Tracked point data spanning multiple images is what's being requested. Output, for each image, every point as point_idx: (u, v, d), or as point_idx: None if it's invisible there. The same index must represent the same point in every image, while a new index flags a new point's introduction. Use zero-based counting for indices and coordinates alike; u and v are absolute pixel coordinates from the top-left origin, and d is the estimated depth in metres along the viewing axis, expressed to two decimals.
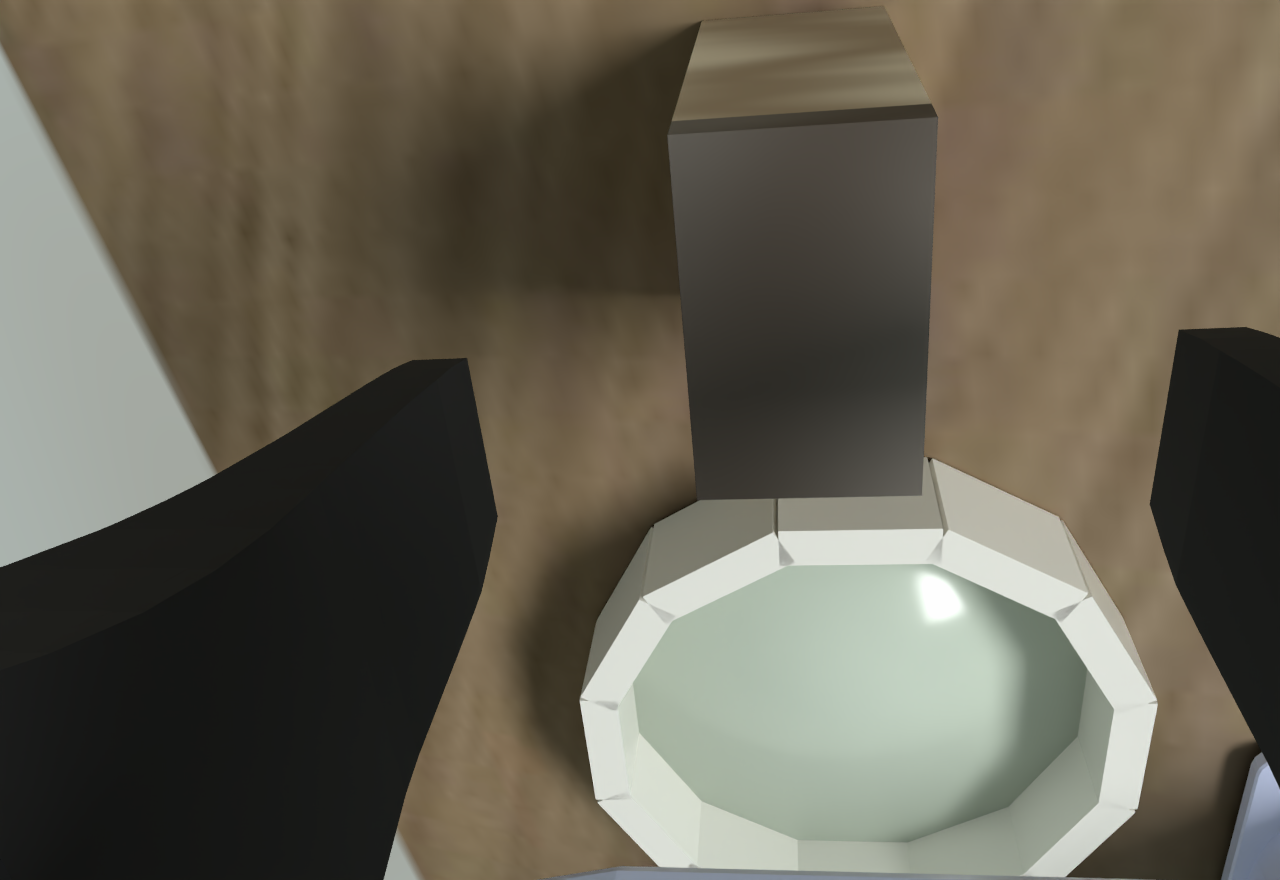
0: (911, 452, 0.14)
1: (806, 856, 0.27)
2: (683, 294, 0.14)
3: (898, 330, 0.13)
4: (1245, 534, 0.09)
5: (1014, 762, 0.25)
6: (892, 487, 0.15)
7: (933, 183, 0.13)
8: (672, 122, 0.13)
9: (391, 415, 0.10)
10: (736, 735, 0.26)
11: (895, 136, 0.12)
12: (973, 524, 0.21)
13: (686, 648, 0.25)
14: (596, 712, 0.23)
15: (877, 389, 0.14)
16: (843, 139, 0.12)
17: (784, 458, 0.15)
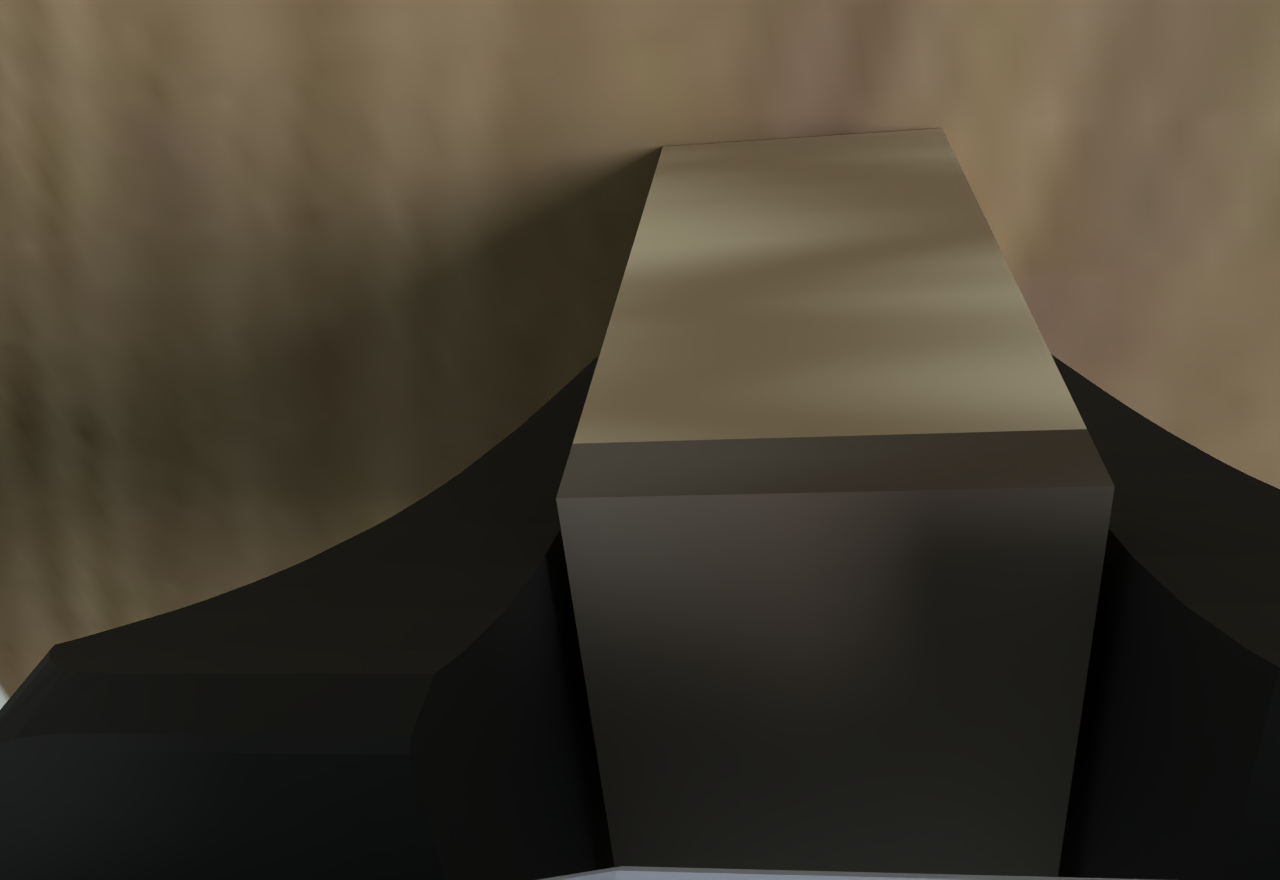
0: None
1: None
2: (601, 751, 0.07)
3: (1007, 819, 0.07)
4: None
5: None
6: None
7: (1092, 590, 0.06)
8: (573, 448, 0.07)
9: None
10: None
11: (1021, 515, 0.06)
12: None
13: None
14: None
15: None
16: (912, 518, 0.06)
17: None
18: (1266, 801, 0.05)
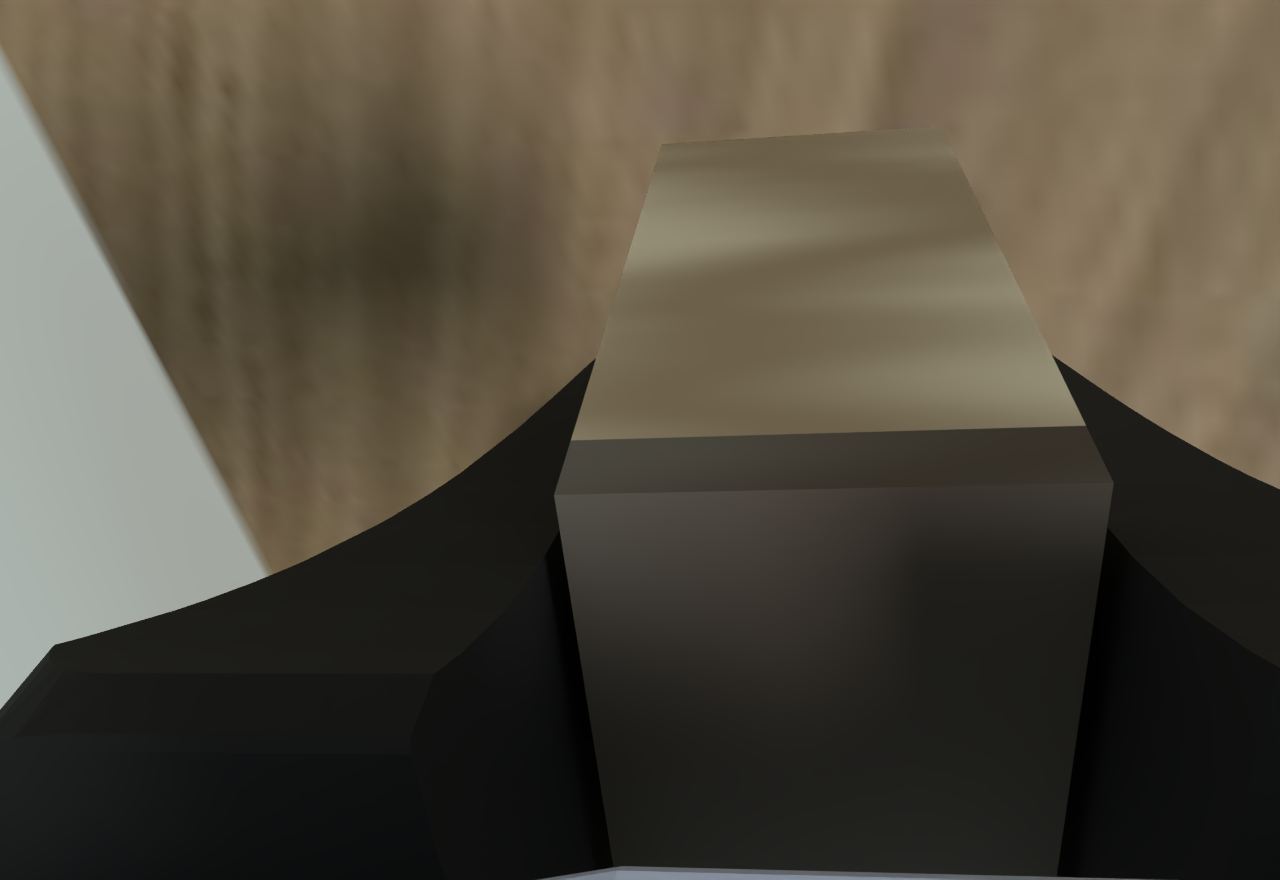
0: None
1: None
2: (599, 748, 0.07)
3: (1005, 816, 0.07)
4: None
5: None
6: None
7: (1091, 585, 0.06)
8: (571, 444, 0.07)
9: None
10: None
11: (1020, 512, 0.06)
12: None
13: None
14: None
15: None
16: (911, 515, 0.06)
17: None
18: (1264, 804, 0.05)
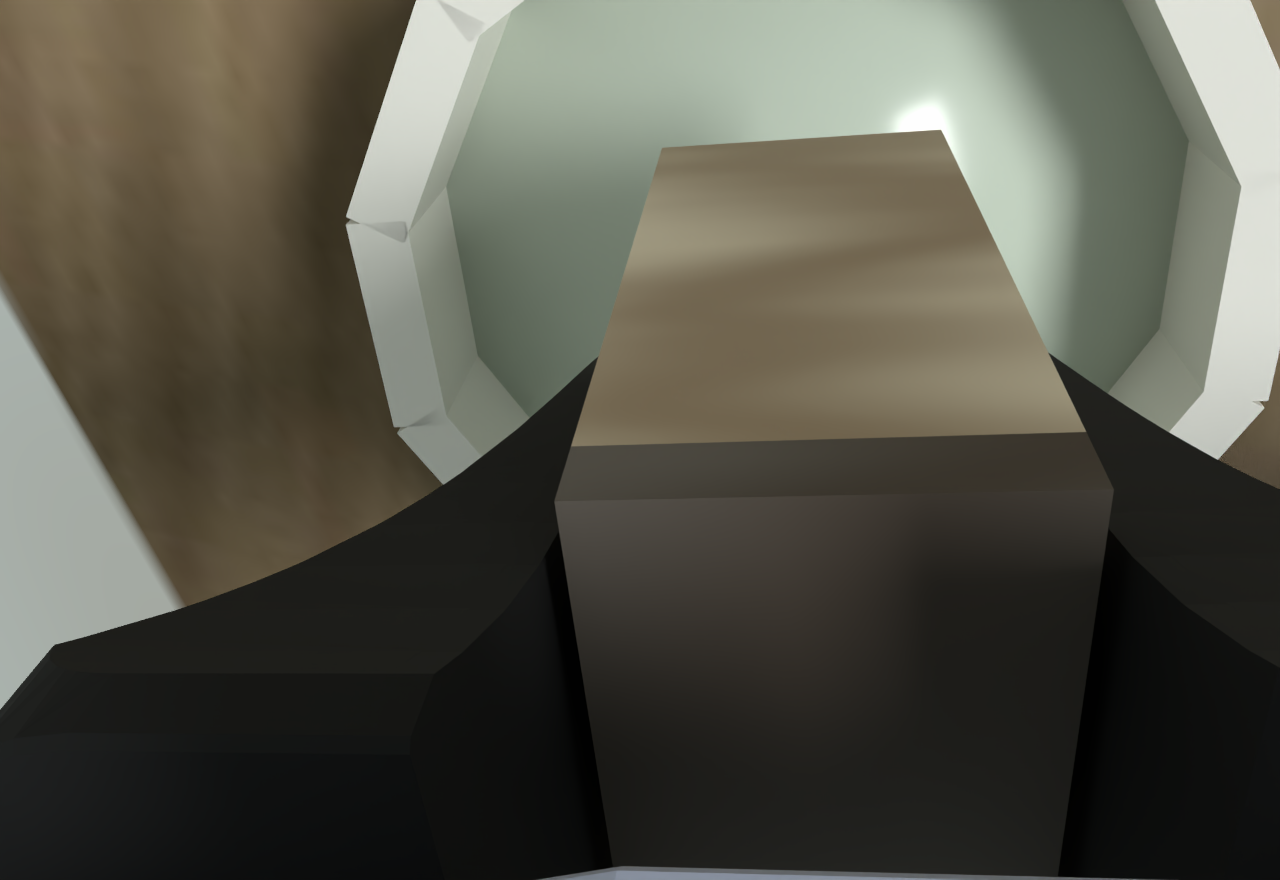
0: None
1: None
2: (599, 754, 0.07)
3: (1006, 822, 0.07)
4: None
5: None
6: None
7: (1090, 592, 0.06)
8: (572, 450, 0.07)
9: None
10: None
11: (1021, 519, 0.06)
12: None
13: (537, 185, 0.16)
14: (375, 248, 0.14)
15: None
16: (912, 520, 0.06)
17: None
18: (1264, 799, 0.05)
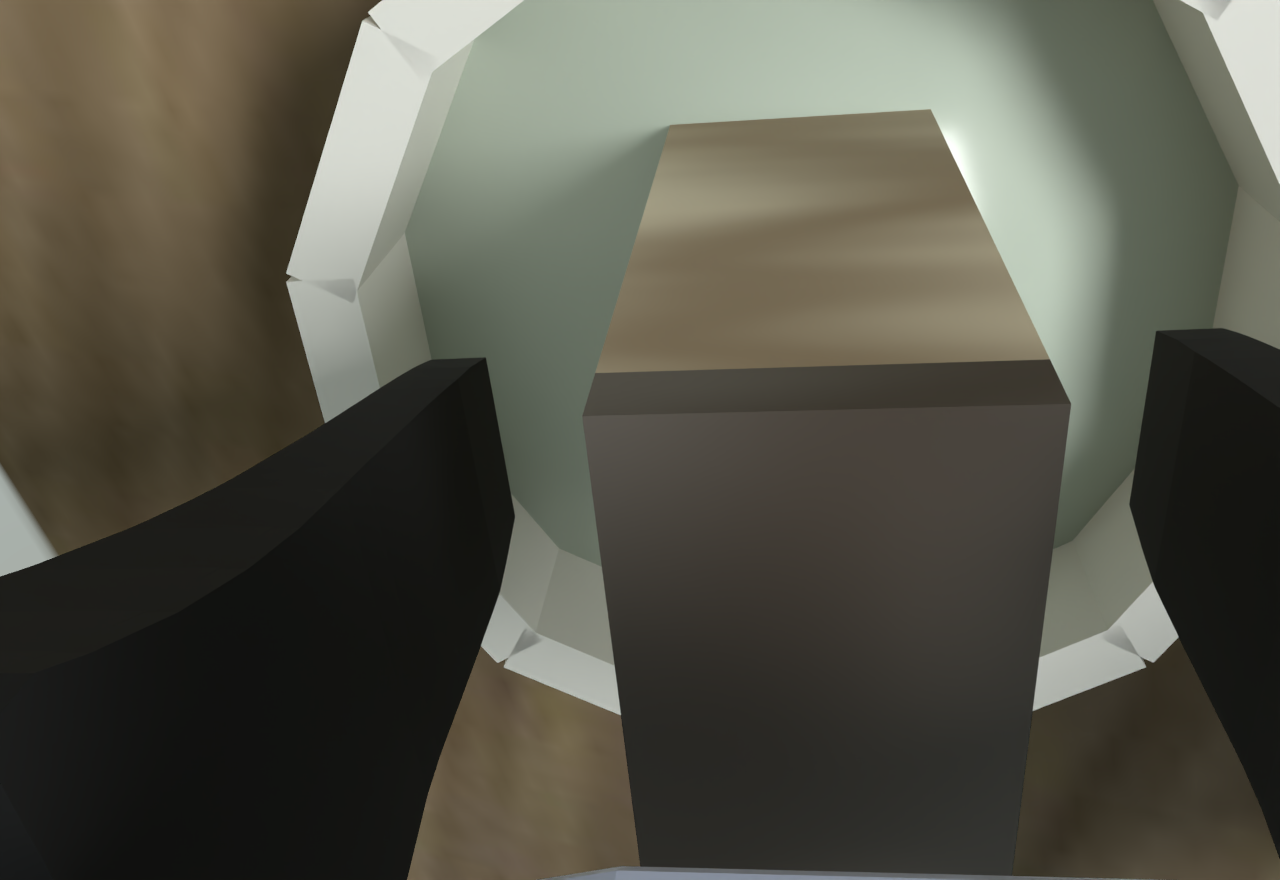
0: None
1: None
2: (617, 651, 0.08)
3: (979, 714, 0.08)
4: (1220, 535, 0.09)
5: (1087, 449, 0.15)
6: None
7: (1053, 500, 0.07)
8: (596, 376, 0.08)
9: (413, 414, 0.10)
10: None
11: (991, 431, 0.07)
12: None
13: (506, 231, 0.14)
14: (320, 308, 0.13)
15: (940, 792, 0.08)
16: (896, 433, 0.07)
17: None
18: None
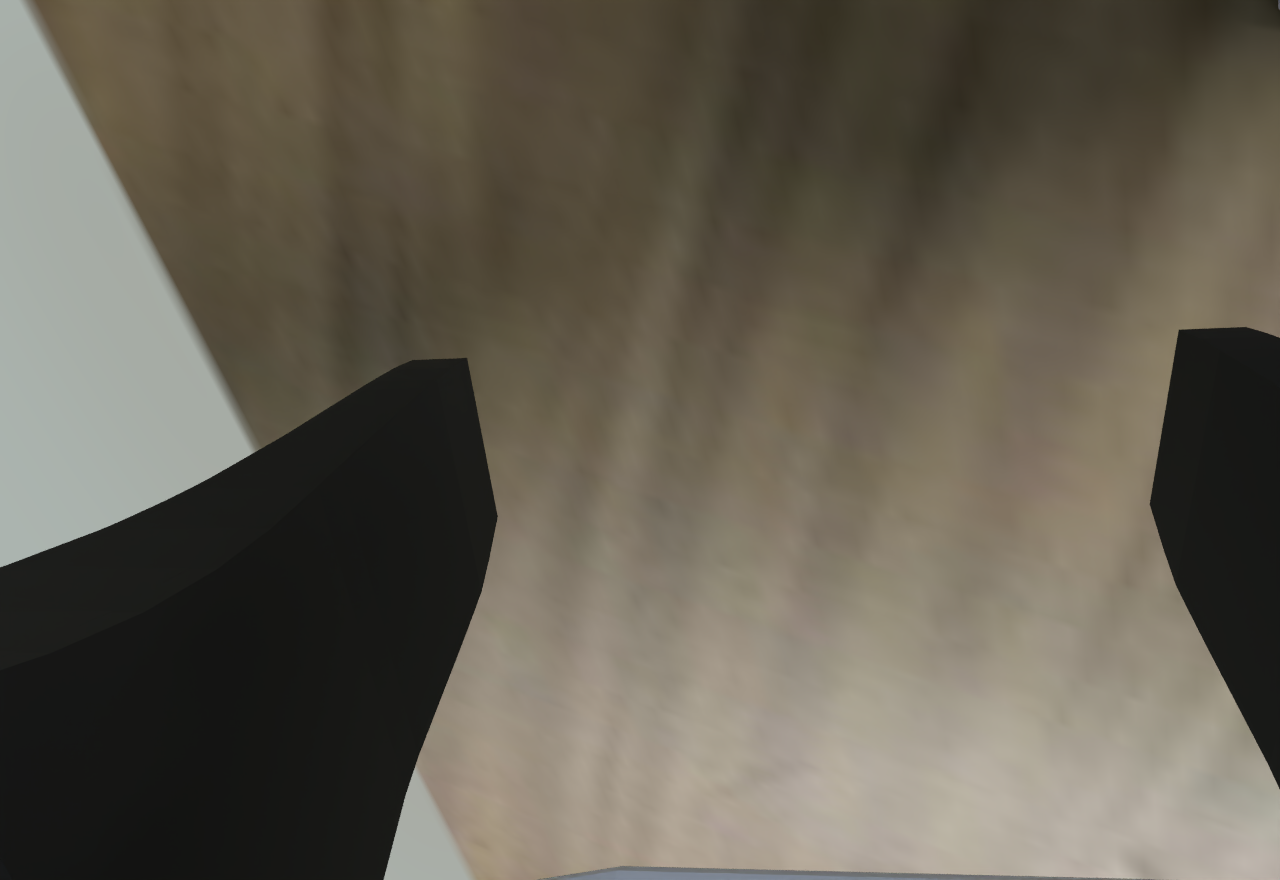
0: None
1: None
2: None
3: None
4: (1245, 535, 0.09)
5: None
6: None
7: None
8: None
9: (391, 415, 0.10)
10: None
11: None
12: None
13: None
14: None
15: None
16: None
17: None
18: None
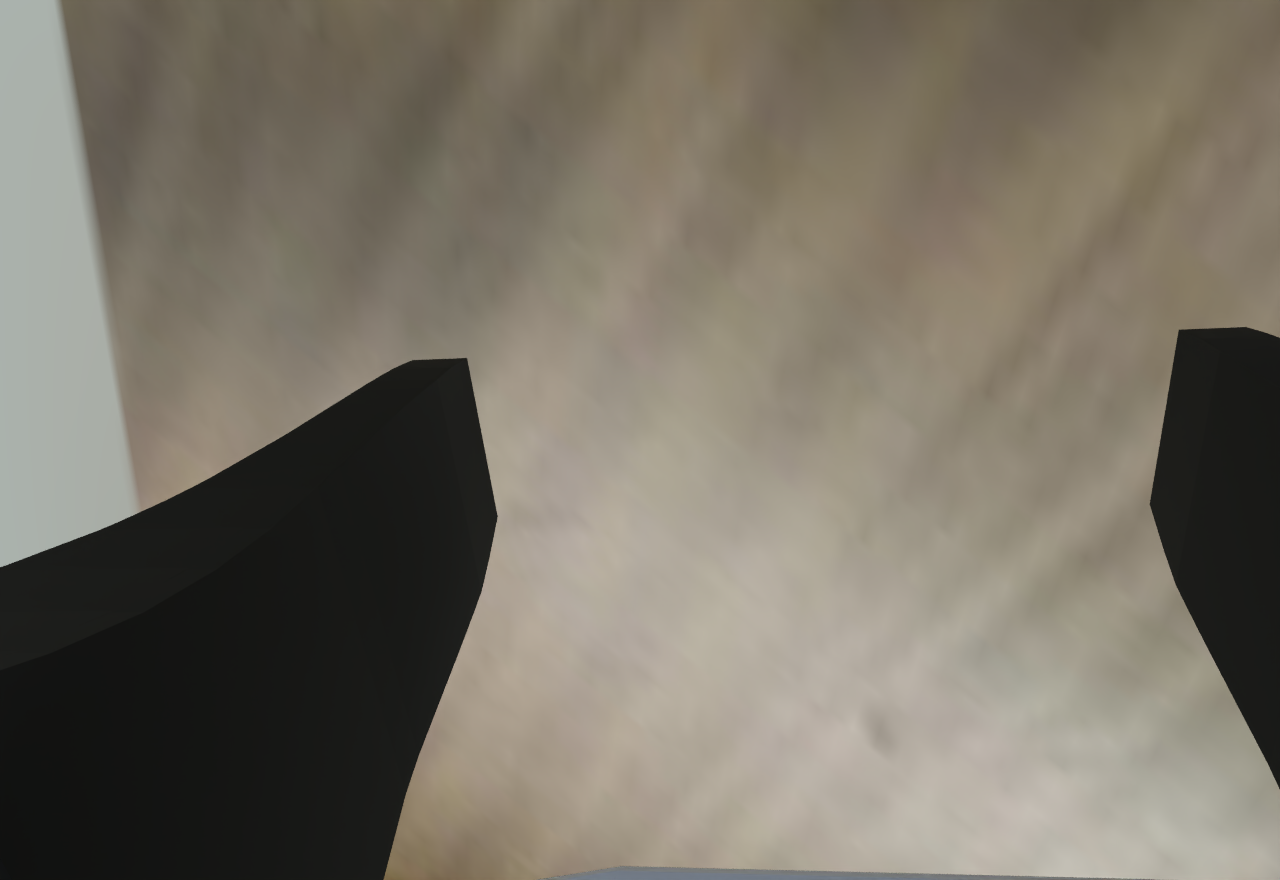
0: None
1: None
2: None
3: None
4: (1247, 535, 0.09)
5: None
6: None
7: None
8: None
9: (391, 415, 0.10)
10: None
11: None
12: None
13: None
14: None
15: None
16: None
17: None
18: None
